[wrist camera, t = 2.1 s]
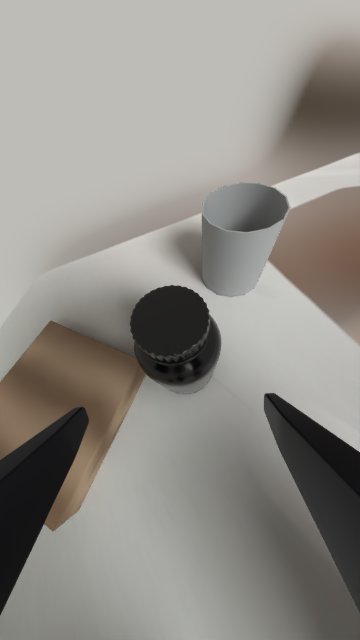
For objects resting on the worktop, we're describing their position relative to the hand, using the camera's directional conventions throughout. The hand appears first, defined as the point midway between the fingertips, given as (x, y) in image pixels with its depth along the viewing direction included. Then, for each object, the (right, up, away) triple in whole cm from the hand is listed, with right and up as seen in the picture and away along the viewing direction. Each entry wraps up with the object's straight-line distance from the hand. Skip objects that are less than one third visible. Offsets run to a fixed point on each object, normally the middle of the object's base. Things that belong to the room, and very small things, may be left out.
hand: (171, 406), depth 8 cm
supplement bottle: (+1, -1, +12) cm, 12 cm away
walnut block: (-12, -5, +12) cm, 18 cm away
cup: (+8, +11, +18) cm, 22 cm away
